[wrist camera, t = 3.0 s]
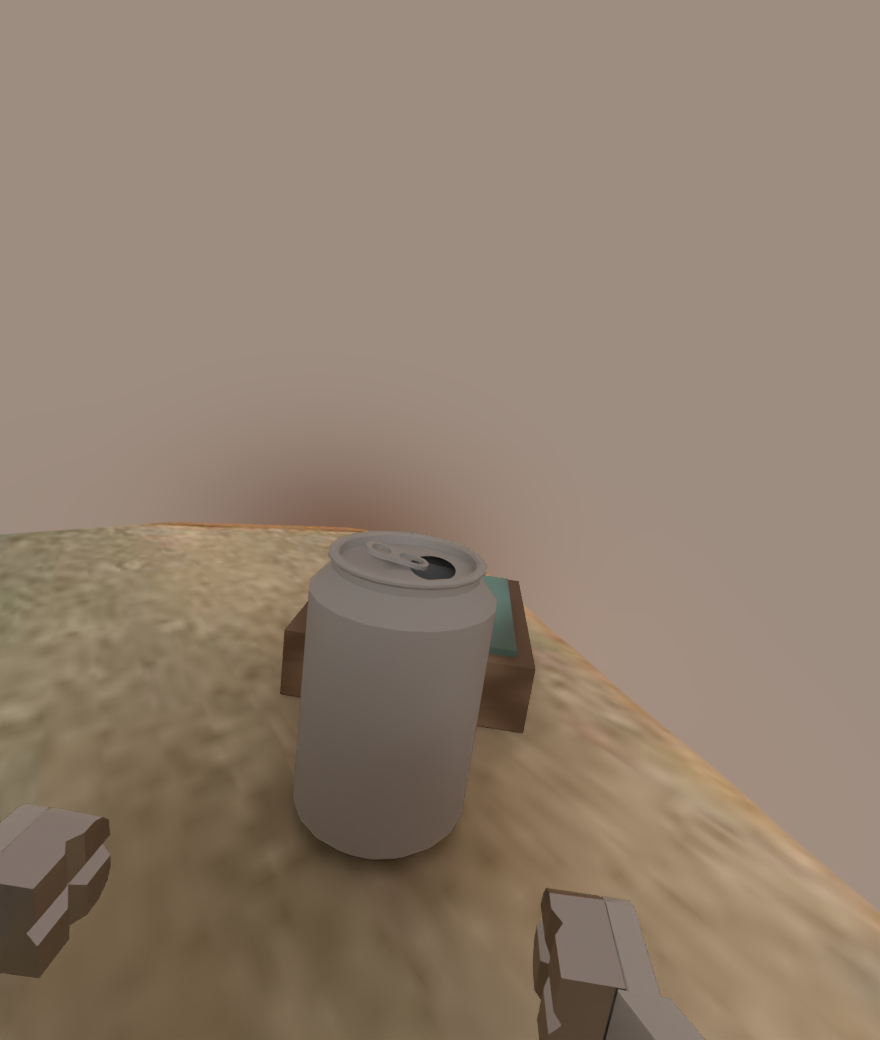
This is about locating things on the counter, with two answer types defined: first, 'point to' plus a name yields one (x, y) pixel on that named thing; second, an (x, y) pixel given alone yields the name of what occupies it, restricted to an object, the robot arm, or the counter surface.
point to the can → (391, 691)
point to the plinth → (504, 668)
